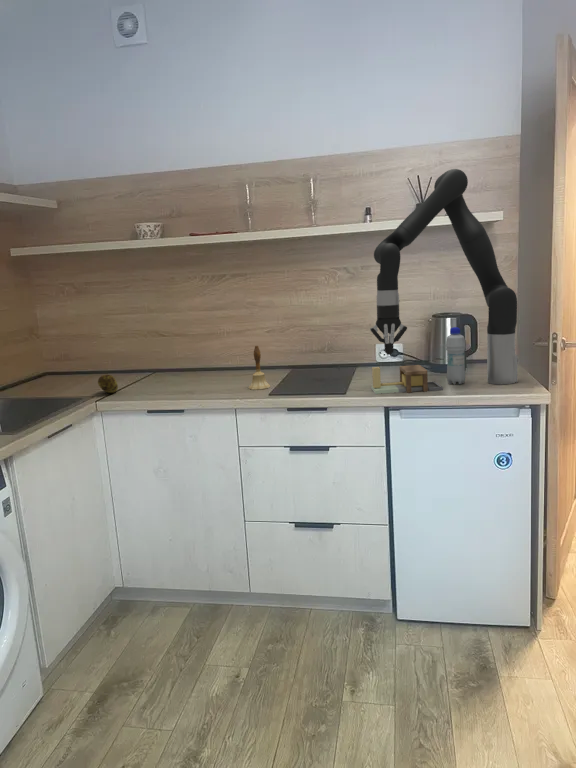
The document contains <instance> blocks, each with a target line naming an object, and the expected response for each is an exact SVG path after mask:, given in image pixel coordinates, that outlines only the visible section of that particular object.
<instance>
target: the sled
mask: <svg viewBox="0 0 576 768" xmlns="http://www.w3.org/2000/svg"><path fill="white" fill-rule="evenodd" d="M371 374H372V376H371V377H372V386H373V387H374V388H381V386H392V385H404V386H405V387H406V374H405V373H404V374H402V382H400V381H398V382H397V381H396V382H383V383H382V382H381V368H380V367H379V366H373V367H371ZM422 385H423V379H422V374H414V375H411V386H422Z"/></svg>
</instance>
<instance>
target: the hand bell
mask: <svg viewBox="0 0 576 768" xmlns="http://www.w3.org/2000/svg"><path fill="white" fill-rule="evenodd" d="M253 358H254V359H253V360H254V361H255V372H254V373H252V380H251V383H250V385H249V386H248V390H254V391H255V390H257V391H258V390H261V391H262V390H265V389H266V390H267V389H269V388H271V385H270V384H269V383H268V382H267V379H266V376H265V375H266V374H265V373H264V372H263V371H261V363H260V362H261V349H260V347H259V345H254V350H253Z"/></svg>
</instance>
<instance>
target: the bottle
mask: <svg viewBox="0 0 576 768" xmlns="http://www.w3.org/2000/svg"><path fill="white" fill-rule="evenodd" d="M449 332H450V333H449V335H448V336H447V337H446V342H445V351H446V358H447V359H446V361H447V363H446V365H447V366H446V367H447V368H446V380H447V383H448V384H449V385H452V384H453V386H454V385H456V384H458V385H463V384H464V383H465V381H466V369H465V368H466V367H465V364H466V363H465V351H466V340H465V336H464V335H462V334H461V329H460V328H459V327H456V326H454V327H451V328H450V330H449Z"/></svg>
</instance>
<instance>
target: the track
mask: <svg viewBox="0 0 576 768" xmlns="http://www.w3.org/2000/svg"><path fill="white" fill-rule="evenodd" d="M371 390H372V391H373V392H374V394H375V395H380V394H381V393H382V394H392V393H394V392H396V393H407V392H406V387H405V386H404V385H392V386H381V388H374V387H373V385H371ZM421 391H422V392H423V385H422V386H411V392H421Z"/></svg>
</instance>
